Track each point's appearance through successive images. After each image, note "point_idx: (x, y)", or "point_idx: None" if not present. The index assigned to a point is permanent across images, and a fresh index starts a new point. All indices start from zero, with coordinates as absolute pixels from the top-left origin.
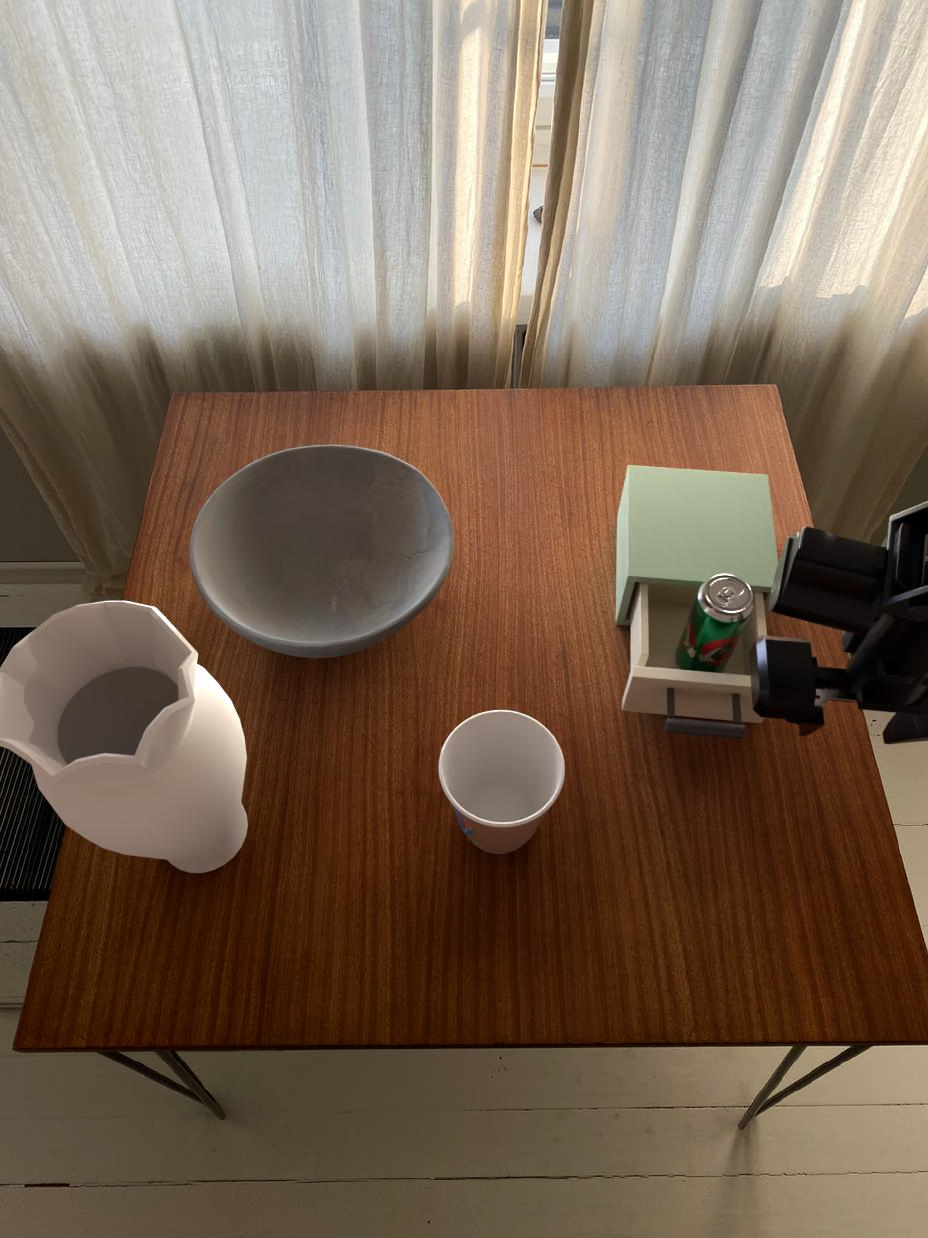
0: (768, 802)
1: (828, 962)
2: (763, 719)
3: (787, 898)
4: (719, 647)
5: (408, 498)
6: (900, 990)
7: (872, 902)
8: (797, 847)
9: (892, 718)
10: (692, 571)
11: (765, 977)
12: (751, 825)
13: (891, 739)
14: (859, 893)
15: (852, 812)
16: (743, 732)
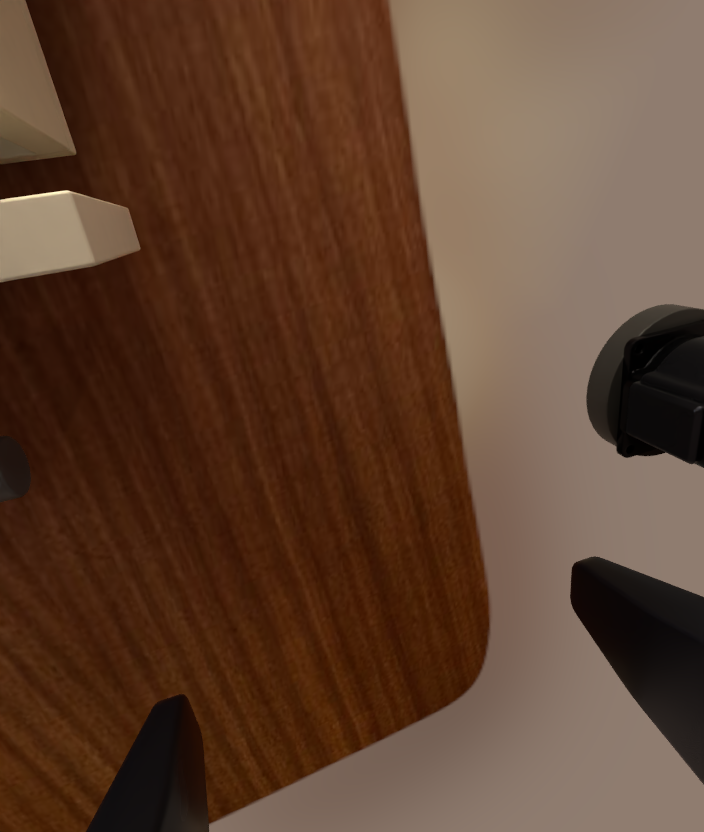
0: (217, 458)
1: (363, 674)
2: (136, 251)
3: (287, 620)
4: None
5: None
6: (464, 658)
7: (433, 563)
8: (295, 527)
9: (691, 647)
10: None
11: (267, 736)
12: (188, 522)
13: (635, 689)
14: (412, 559)
15: (403, 413)
16: (1, 495)
